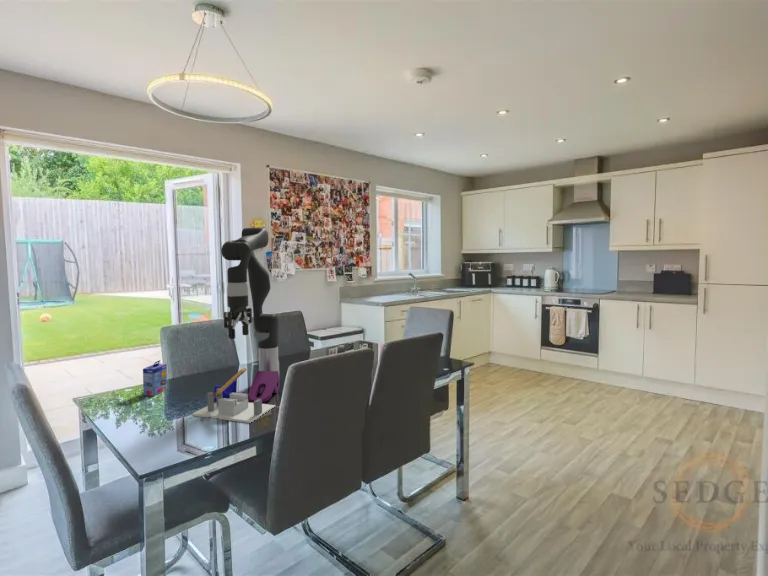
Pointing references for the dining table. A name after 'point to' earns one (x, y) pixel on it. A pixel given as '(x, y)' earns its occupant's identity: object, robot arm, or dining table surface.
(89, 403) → the dining table surface
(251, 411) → the board
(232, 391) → the cable clip
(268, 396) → the mounting bracket
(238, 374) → the wooden strip
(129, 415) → the dining table surface
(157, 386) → the ink cartridge box
